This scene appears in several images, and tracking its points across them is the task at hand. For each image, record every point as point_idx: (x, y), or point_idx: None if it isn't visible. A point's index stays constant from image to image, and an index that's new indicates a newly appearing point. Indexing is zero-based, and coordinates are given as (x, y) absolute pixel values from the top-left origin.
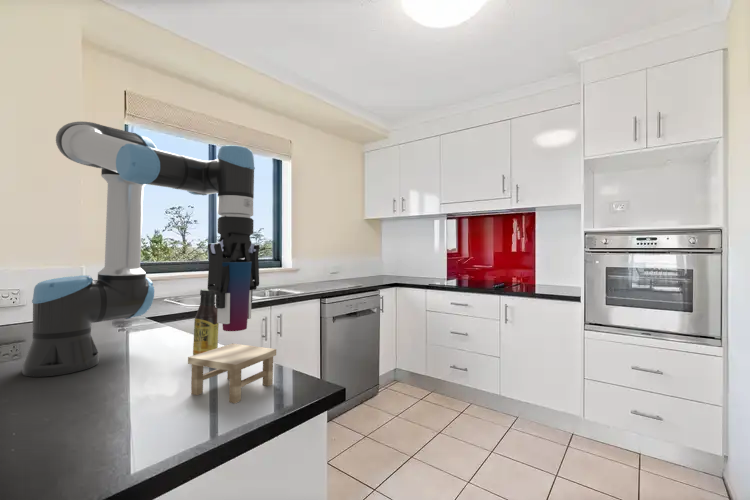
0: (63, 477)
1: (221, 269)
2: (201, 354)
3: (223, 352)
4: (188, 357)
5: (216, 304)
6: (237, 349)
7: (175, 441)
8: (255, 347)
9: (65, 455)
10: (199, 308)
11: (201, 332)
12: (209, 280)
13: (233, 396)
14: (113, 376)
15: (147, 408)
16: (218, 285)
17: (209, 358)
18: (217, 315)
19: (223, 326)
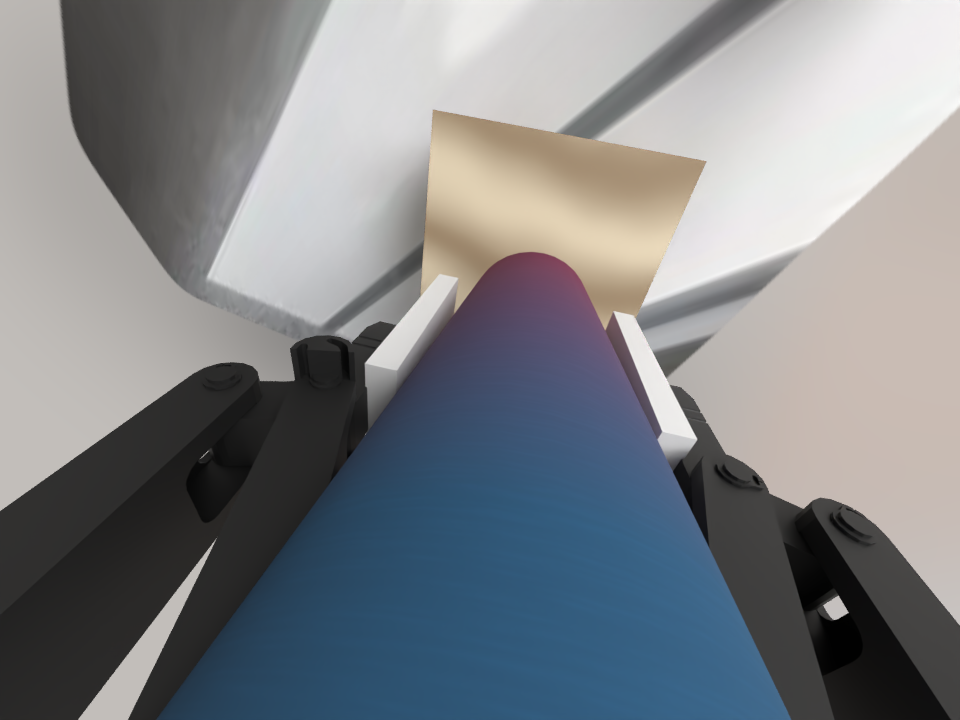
0: (137, 184)
1: (101, 676)
2: (484, 142)
3: (533, 221)
4: (433, 112)
5: (362, 337)
6: (587, 253)
7: (288, 277)
8: (625, 308)
9: (149, 107)
10: None
11: None
12: (130, 444)
13: None
14: None
15: (351, 72)
16: (229, 478)
17: (445, 219)
18: (427, 288)
19: (477, 282)
